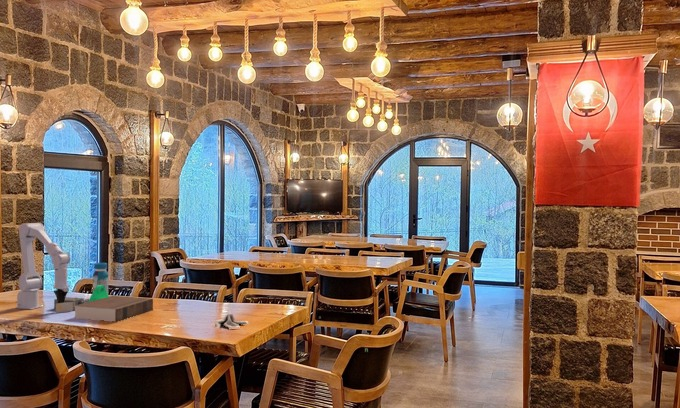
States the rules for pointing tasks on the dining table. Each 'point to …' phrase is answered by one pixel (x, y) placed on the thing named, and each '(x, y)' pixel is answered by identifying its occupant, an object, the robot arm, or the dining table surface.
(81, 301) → the camera body
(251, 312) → the dining table surface
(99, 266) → the beverage bottle
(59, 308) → the side door
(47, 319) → the dining table surface
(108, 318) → the book
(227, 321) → the cloth
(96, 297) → the camera mount
